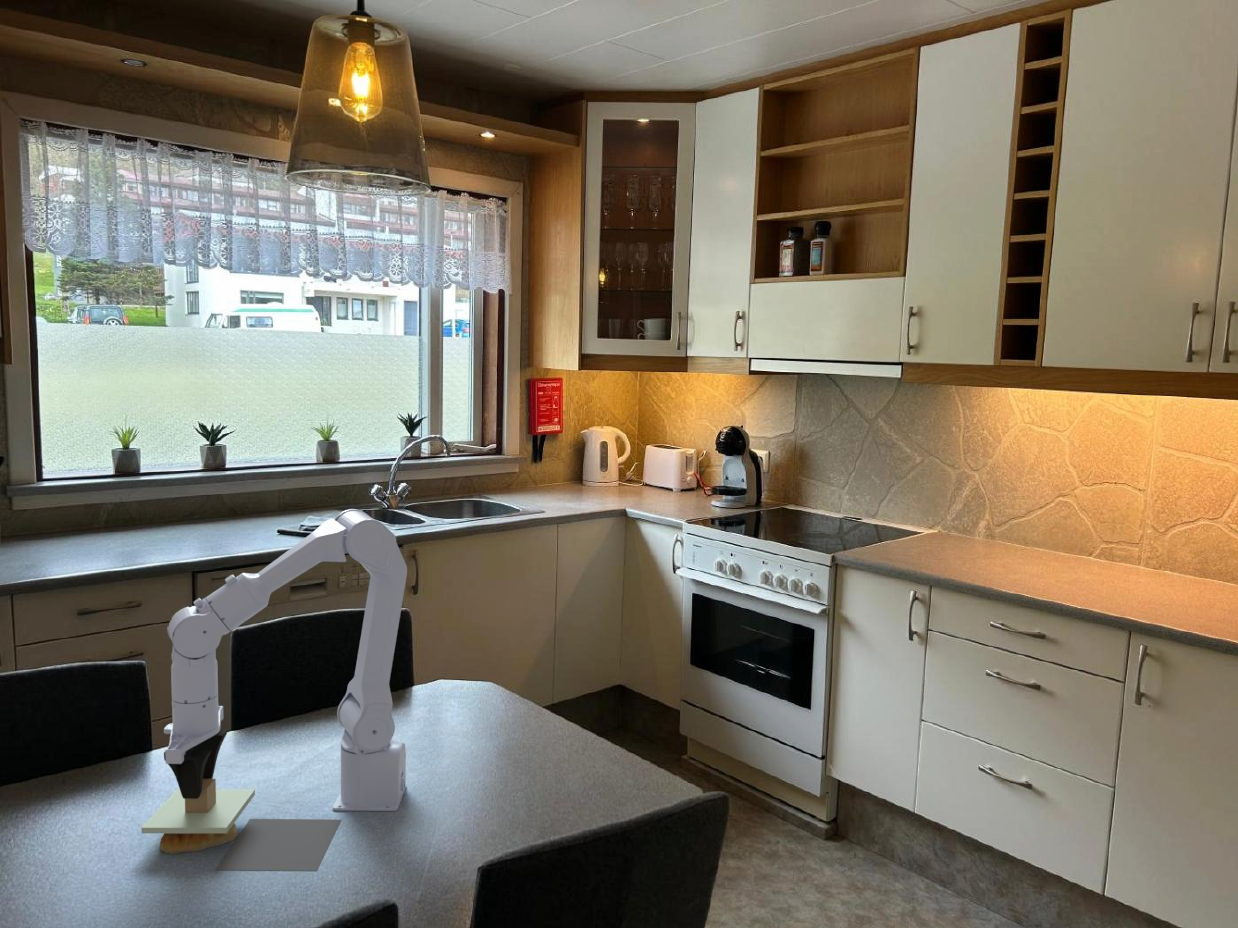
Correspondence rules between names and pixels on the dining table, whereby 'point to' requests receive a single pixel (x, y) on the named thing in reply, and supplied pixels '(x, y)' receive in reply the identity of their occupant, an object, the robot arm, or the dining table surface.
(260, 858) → the mat
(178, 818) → the cover
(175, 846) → the pastry
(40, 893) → the dining table surface
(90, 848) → the dining table surface
